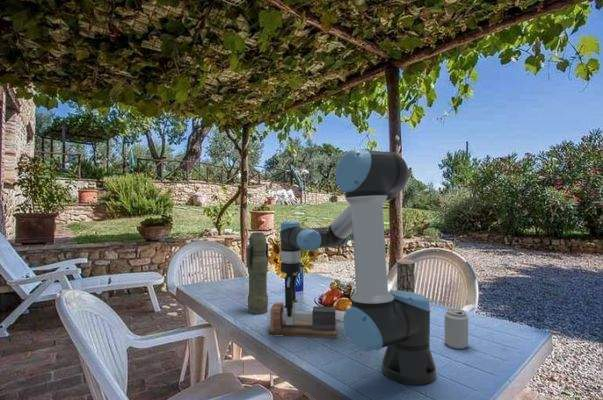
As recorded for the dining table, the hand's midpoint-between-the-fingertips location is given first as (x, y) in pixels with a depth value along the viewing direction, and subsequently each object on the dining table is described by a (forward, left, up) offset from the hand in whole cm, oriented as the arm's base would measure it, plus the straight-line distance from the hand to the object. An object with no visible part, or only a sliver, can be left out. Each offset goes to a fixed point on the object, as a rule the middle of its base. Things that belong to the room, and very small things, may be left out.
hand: (290, 321), depth 135 cm
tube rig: (0, -5, -3) cm, 6 cm away
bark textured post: (+13, -46, -3) cm, 47 cm away
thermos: (+20, +17, -3) cm, 27 cm away
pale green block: (0, -3, 0) cm, 3 cm away
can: (-8, -59, -3) cm, 59 cm away
